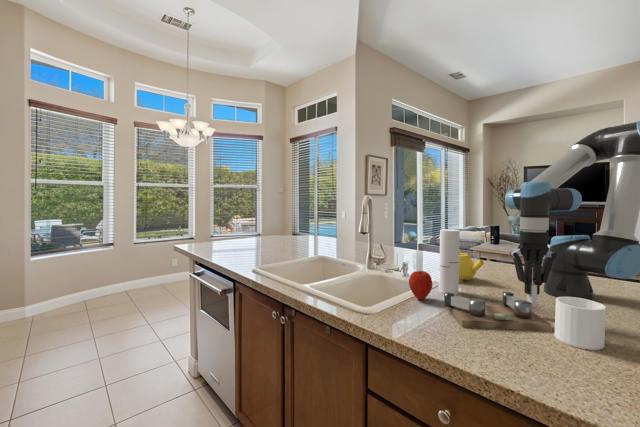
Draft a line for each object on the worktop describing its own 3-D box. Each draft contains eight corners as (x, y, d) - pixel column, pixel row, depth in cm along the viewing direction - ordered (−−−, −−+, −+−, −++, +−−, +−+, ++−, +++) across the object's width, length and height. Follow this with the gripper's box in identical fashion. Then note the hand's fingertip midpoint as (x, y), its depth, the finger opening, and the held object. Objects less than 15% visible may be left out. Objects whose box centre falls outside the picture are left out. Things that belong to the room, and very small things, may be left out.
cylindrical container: (460, 295, 118) (461, 231, 117) (440, 294, 120) (441, 230, 118) (456, 289, 125) (457, 229, 124) (437, 289, 126) (438, 229, 125)
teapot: (492, 282, 136) (493, 251, 135) (473, 288, 127) (474, 255, 126) (450, 273, 152) (451, 246, 152) (431, 278, 143) (432, 249, 143)
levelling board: (523, 312, 100) (524, 301, 100) (550, 330, 86) (551, 317, 86) (447, 309, 103) (448, 298, 103) (462, 327, 89) (462, 314, 89)
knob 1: (487, 314, 93) (488, 301, 93) (481, 317, 90) (481, 304, 90) (448, 303, 103) (448, 291, 103) (441, 306, 100) (441, 294, 100)
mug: (603, 355, 73) (605, 313, 73) (551, 341, 80) (552, 303, 80) (605, 337, 82) (607, 300, 82) (558, 326, 89) (559, 292, 89)
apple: (415, 294, 120) (415, 267, 119) (436, 299, 114) (436, 270, 113) (404, 299, 114) (404, 270, 113) (425, 304, 108) (426, 274, 107)
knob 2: (534, 318, 89) (535, 305, 89) (518, 318, 90) (518, 304, 90) (512, 303, 102) (512, 291, 102) (498, 303, 103) (499, 291, 102)
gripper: (548, 229, 99) (546, 300, 100) (506, 229, 101) (504, 299, 102) (564, 232, 92) (561, 309, 93) (517, 231, 93) (515, 307, 95)
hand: (531, 304), depth 98 cm, fingers closed
